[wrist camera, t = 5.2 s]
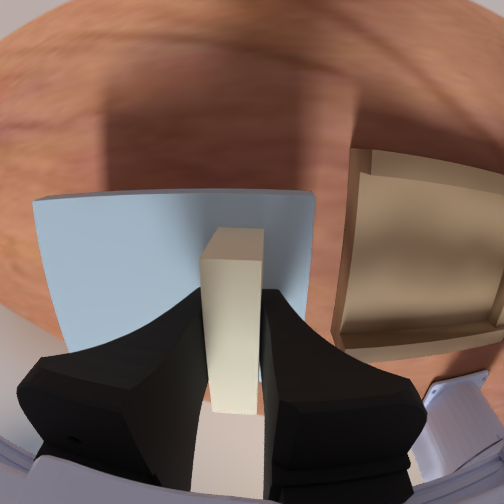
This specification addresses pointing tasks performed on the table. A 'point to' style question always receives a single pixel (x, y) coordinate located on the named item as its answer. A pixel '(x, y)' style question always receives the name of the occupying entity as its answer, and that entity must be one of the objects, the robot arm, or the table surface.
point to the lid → (178, 268)
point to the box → (419, 258)
